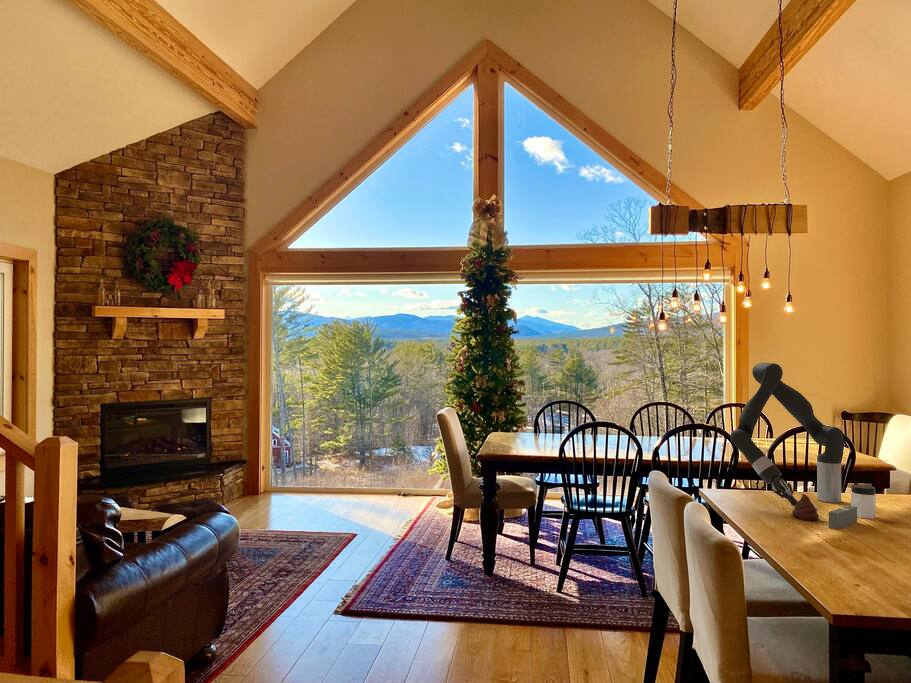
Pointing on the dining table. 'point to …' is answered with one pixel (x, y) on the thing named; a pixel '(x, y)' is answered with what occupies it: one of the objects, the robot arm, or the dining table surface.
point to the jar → (864, 500)
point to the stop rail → (842, 517)
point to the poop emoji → (805, 509)
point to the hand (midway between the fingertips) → (796, 504)
